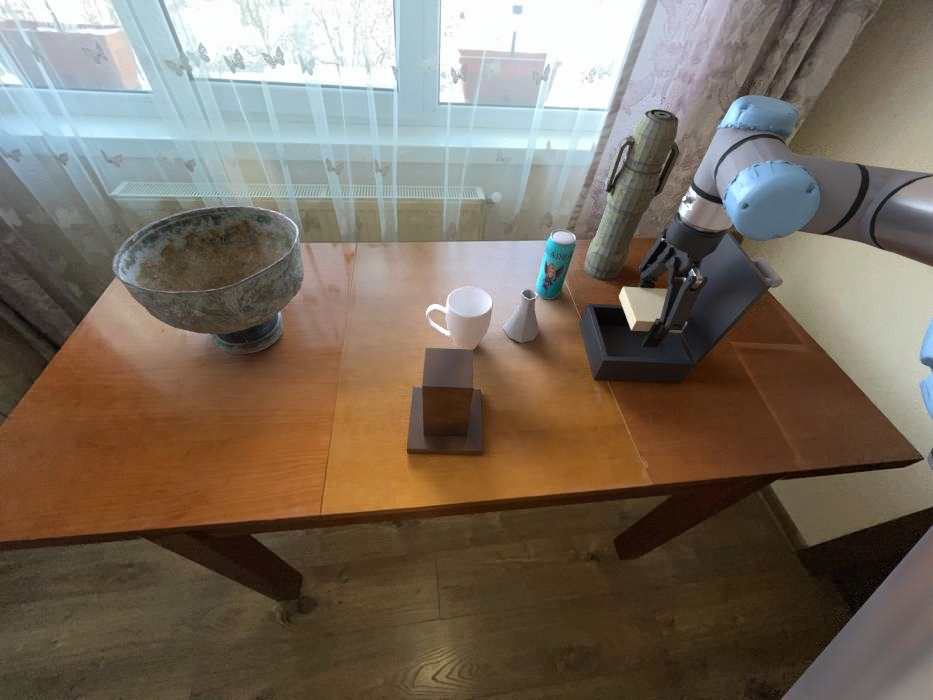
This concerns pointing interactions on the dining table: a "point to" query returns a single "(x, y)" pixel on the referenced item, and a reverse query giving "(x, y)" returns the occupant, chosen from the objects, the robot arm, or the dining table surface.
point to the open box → (630, 349)
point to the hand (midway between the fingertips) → (641, 326)
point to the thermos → (632, 190)
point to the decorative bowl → (216, 273)
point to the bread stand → (446, 406)
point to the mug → (464, 316)
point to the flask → (523, 318)
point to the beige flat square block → (643, 307)
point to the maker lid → (726, 294)
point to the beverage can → (555, 263)
